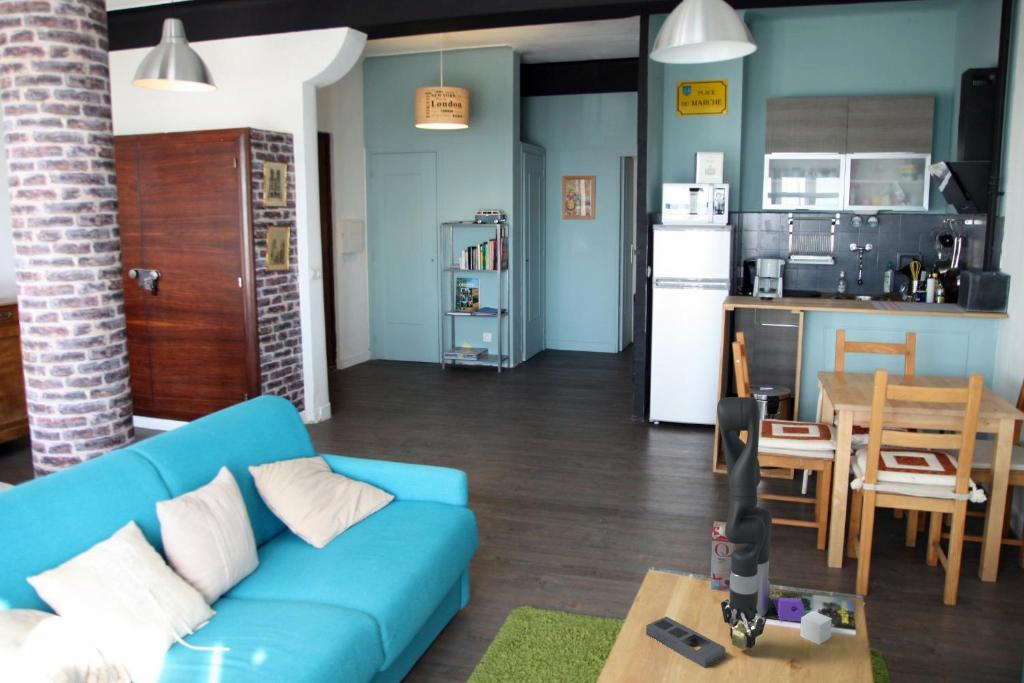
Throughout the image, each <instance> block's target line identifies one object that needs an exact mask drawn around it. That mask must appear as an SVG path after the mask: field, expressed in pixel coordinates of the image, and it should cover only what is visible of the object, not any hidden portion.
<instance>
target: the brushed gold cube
mask: <svg viewBox="0 0 1024 683" xmlns="http://www.w3.org/2000/svg"><path fill="white" fill-rule="evenodd" d="M751 630H752V629H751ZM747 642H748V633H747V629H746V628H745V626H744V623H743V622H741V623H738V624H737V626H735V627H734V628H732V639H731V645H733V646H735V647H737V648H738V649H741V650H742V651H745V650H747V649H749V648H748V647H747Z"/></svg>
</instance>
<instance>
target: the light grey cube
mask: <svg viewBox="0 0 1024 683" xmlns="http://www.w3.org/2000/svg"><path fill="white" fill-rule="evenodd" d="M832 620H833V618H832V617H829V616H826V615H824V614H821V613H819V612H817V611H814V610H811V611H810V612H809V613H807V614H804V616H803V617H801V622H800V638H803V639H806V640H808V641H810V642H812V643H814V644H817V645H821V644H823V643H825V642H826V641H827V640H829V639H831V638H830V637H831V636H832V635H831V634H832Z"/></svg>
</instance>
